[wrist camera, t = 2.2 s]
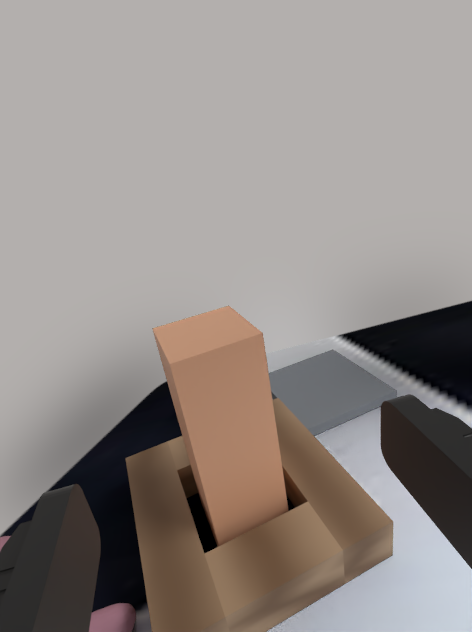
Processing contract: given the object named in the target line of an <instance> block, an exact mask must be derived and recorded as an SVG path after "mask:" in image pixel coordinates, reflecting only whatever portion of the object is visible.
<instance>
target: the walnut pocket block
mask: <svg viewBox="0 0 472 632" xmlns="http://www.w3.org/2000/svg"><path fill="white" fill-rule="evenodd" d="M272 401H273V407H274V414H275V421H276V428H277V435H278V442H279V448H280V455H281V462H282V469H283V476H284V483H285V490H286V495H287V496H288V498H289V500H290V501H291V503H292V504H293V506H294V507H295V508H294V509H292V510H290V511H288V512H286V513H284V514H282V515H280V516H278V517H276V518H274V519H272V520H270V521H268V522H266V523H264V524H262V525H260V526H258V527H256V528H254V529H252V530H250V531H248V532H246V533H244V534H243V535H241V536H239V537H237V538H235V539H233V540H231V541H229V542H227V543H225V544H223V545H221V546H219V547H217V548H215V549H213V550H211V551H209V552H207V553H205V554H204V551H203V548H202V545H201V542H200V539H199V536H198V533H197V530H196V527H195V524H194V520H193V517H192V514H191V511H190V508H189V505H188V502H187V499H186V498H188V497H190V496H193V495H195V494H197V493H198V489H197V486H196V482H195V479H194V475H193V472H192V468H191V464H190V461H189V457H188V454H187V450H186V447H185V443H184V439H183V436H180V437H178V438H175V439H173V440H170V441H168V442H165V443H163V444H160V445H158V446H155V447H152V448H150V449H147V450H145V451H142V452H140V453H137V454H135V455H132V456H130V457H127V458H126V464H127V471H128V477H129V484H130V491H131V497H132V504H133V510H134V517H135V523H136V530H137V537H138V543H139V550H140V556H141V563H142V570H143V576H144V583H145V589H146V596H147V602H148V609H149V616H150V622H151V629H152V632H266V631H268V630H269V629H271V628H272V627H274V626H276V625H277V624H279V623H281V622H282V621H284V620H286V619H287V618H289V617H291V616H292V615H294V614H296V613H297V612H299V611H301V610H302V609H304V608H306V607H307V606H309V605H311V604H312V603H314V602H316V601H317V600H319V599H321V598H322V597H324V596H326V595H327V594H329V593H331V592H332V591H334V590H335V589H337V588H339V587H340V586H342V585H344V584H345V583H347V582H349V581H350V580H352V579H354V578H355V577H357V576H359V575H360V574H362V573H364V572H365V571H367V570H369V569H370V568H372V567H374V566H375V565H377V564H379V563H380V562H382V561H384V560H385V559H387V558H389V557H390V556H392V555H393V521H392V520H391V519H390V518H389V517H388V516H387V514H386V513H385V512H384V511H383V510H382V509H381V508H380V507H379V506H378V505H377V504H376V503H375V502H374V500H373V499H372V498H371V497H370V496H369V495H368V494H367V493H366V492H365V491H364V490H363V489H362V487H361V486H360V485H359V484H358V483H357V482H356V481H355V480H354V479H353V478H352V477H351V476H350V475H349V473H348V472H347V471H346V470H345V469H344V468H343V467H342V466H341V465H340V464H339V463H338V462H337V461H336V459H335V458H334V457H333V456H332V455H331V454H330V453H329V452H328V451H327V450H326V449H325V448H324V447H323V445H322V444H321V443H320V442H319V441H318V440H317V439H316V438H315V437H314V436H313V435H312V434H311V433H310V431H309V430H308V429H307V428H306V427H305V426H304V425H303V424H302V423H301V422H300V421H299V420H298V419H297V417H296V416H295V415H294V414H293V413H292V412H291V411H290V410H289V409H288V408H287V407H286V406H285V404H284V403H283V402H282V401H281V400H280V399H279V398H276V399H274V400H272Z"/></svg>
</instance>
